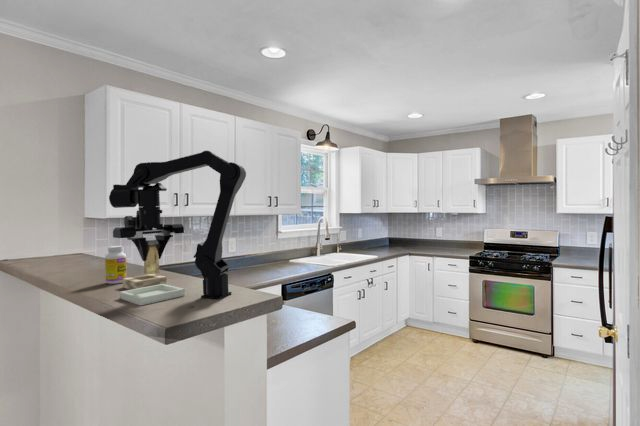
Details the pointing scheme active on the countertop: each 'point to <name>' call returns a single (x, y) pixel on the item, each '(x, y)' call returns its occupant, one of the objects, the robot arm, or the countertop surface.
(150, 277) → the wooden square frame
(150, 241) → the spice jar
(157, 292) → the tray
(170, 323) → the countertop surface
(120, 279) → the supplement bottle
